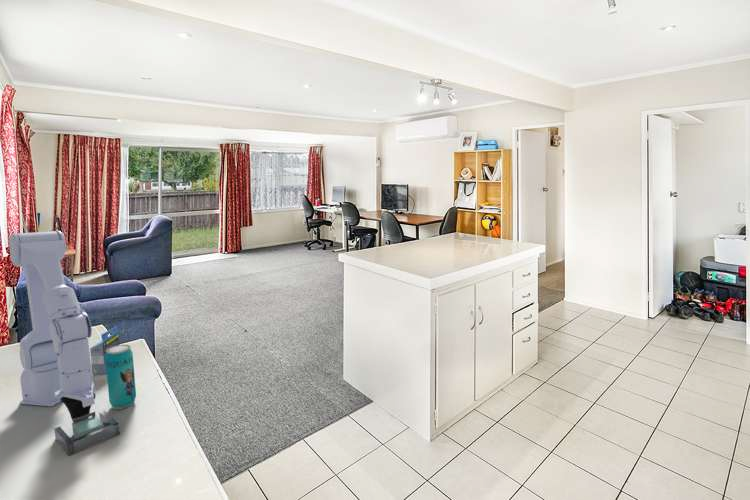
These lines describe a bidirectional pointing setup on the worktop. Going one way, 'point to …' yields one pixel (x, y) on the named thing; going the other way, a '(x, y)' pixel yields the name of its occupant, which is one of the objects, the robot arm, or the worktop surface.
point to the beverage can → (120, 376)
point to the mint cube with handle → (86, 425)
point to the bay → (88, 435)
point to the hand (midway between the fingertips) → (81, 424)
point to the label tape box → (103, 351)
